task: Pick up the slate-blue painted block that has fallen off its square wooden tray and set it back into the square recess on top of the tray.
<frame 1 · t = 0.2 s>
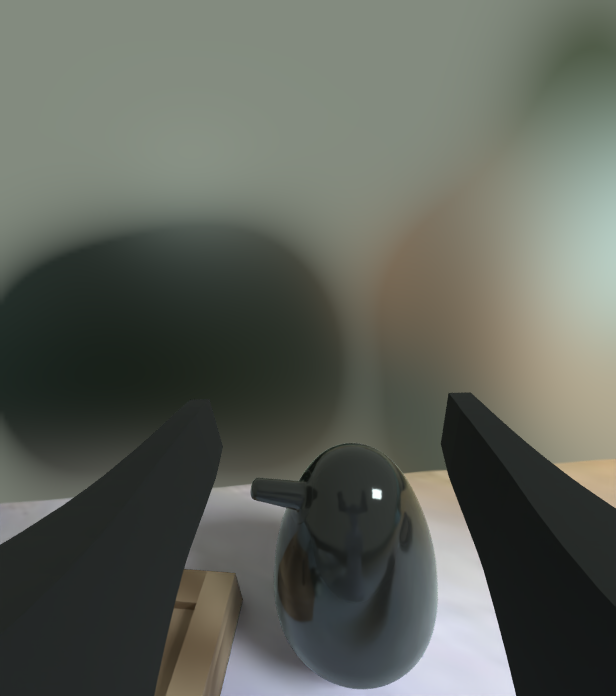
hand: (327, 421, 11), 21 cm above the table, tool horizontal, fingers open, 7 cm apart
square wooden tray: (145, 680, 23), on the table
dark grey egg shape: (351, 615, 25), on the table
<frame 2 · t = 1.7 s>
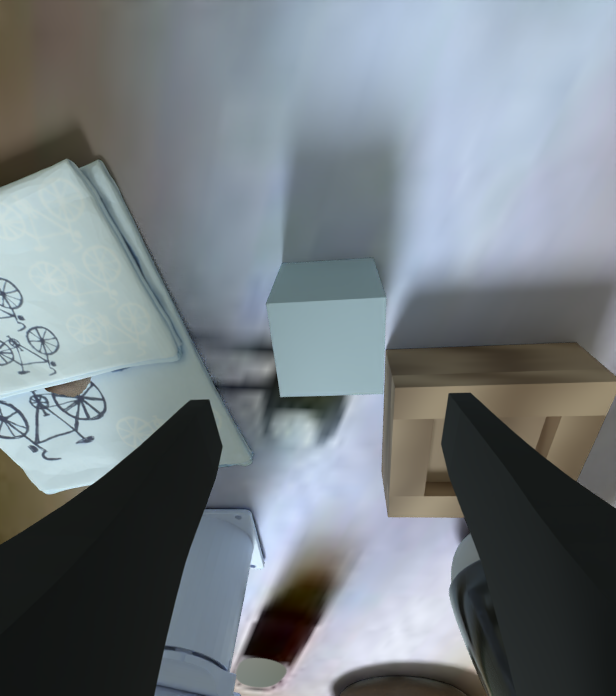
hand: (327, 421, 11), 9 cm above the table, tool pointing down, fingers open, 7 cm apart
blue block: (329, 302, 19), on the table
paper napkin stack: (69, 368, 23), on the table
square wooden tray: (465, 415, 22), on the table
dark grey egg shape: (501, 536, 28), on the table
plant saucer: (403, 694, 48), on the table
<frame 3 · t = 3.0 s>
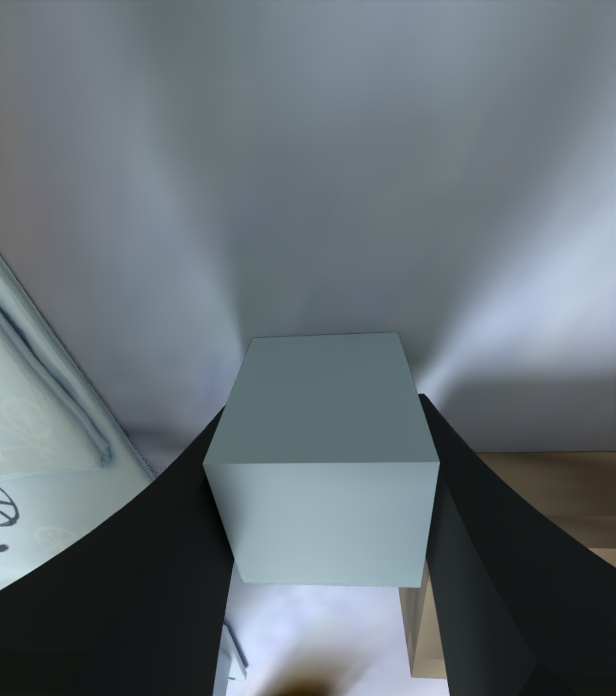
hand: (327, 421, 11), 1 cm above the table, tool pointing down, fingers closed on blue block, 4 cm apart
blue block: (327, 392, 12), on the table, touching gripper
square wooden tray: (521, 533, 15), on the table
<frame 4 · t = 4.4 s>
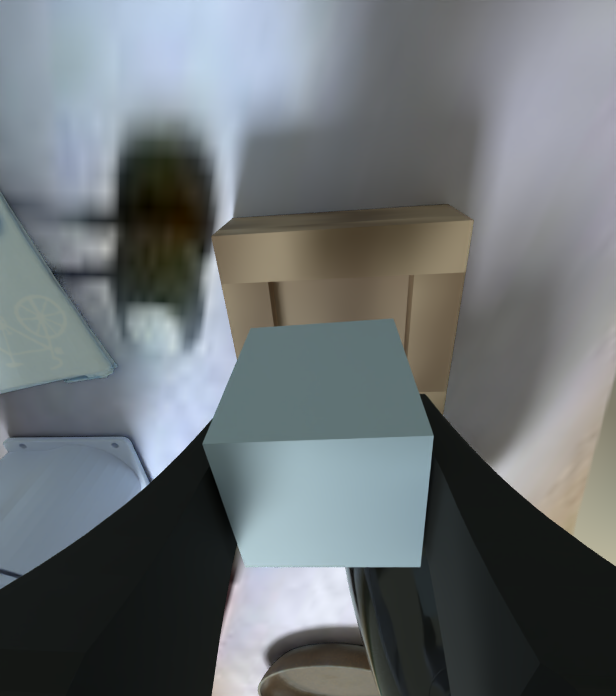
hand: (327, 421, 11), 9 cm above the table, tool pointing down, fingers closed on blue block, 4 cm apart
blue block: (326, 381, 12), point 8 cm above the table, touching gripper
square wooden tray: (340, 309, 19), on the table
dark grey egg shape: (410, 470, 26), on the table
plant saucer: (342, 666, 45), on the table
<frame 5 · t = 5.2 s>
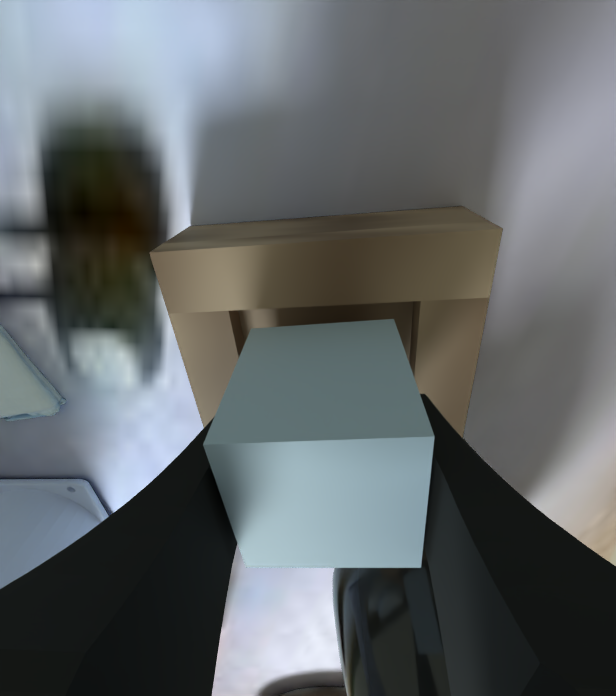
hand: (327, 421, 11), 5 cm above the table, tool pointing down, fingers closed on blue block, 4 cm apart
blue block: (326, 381, 12), point 4 cm above the table, touching gripper
square wooden tray: (328, 335, 16), on the table
dark grey egg shape: (414, 514, 22), on the table
when the fingers open (5 cm above the table, at t = 5.7 s): blue block stays where it is, resting on square wooden tray.
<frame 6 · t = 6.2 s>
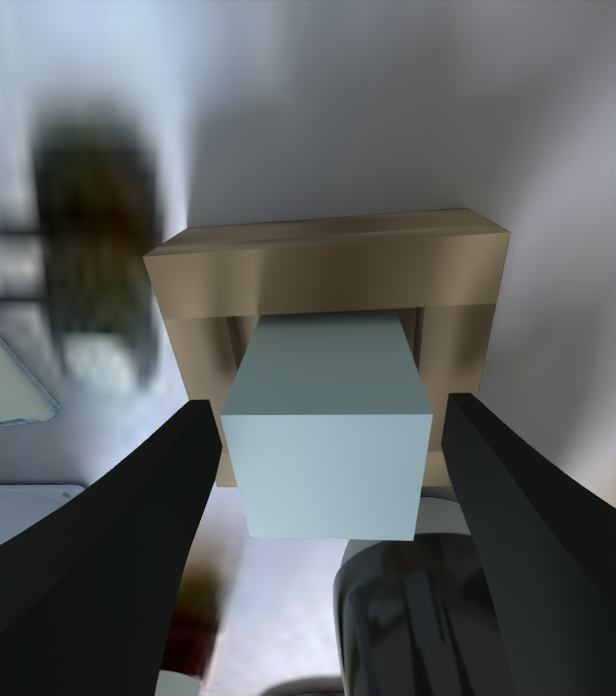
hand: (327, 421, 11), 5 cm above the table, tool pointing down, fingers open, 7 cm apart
blue block: (329, 368, 13), point 2 cm above the table, touching square wooden tray
square wooden tray: (328, 340, 15), on the table
dark grey egg shape: (416, 521, 22), on the table
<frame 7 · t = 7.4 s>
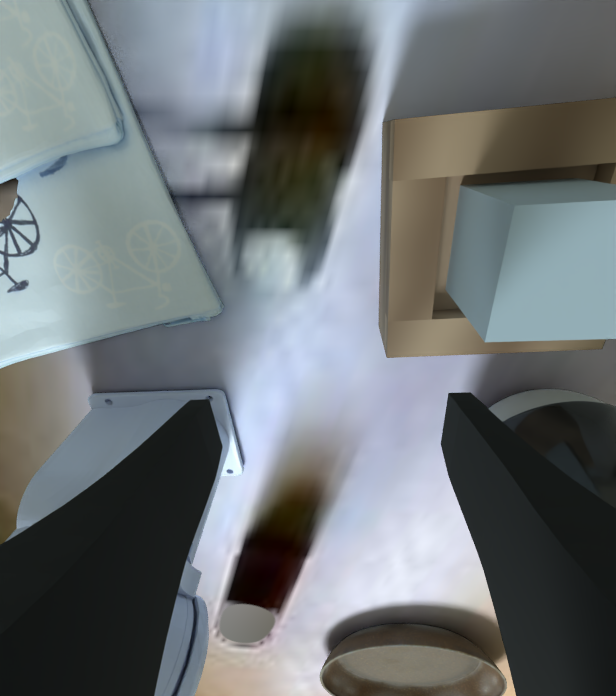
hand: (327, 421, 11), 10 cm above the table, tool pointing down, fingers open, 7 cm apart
blue block: (505, 238, 15), point 2 cm above the table, touching square wooden tray
square wooden tray: (482, 231, 18), on the table
dark grey egg shape: (521, 422, 24), on the table
plant saucer: (404, 650, 44), on the table
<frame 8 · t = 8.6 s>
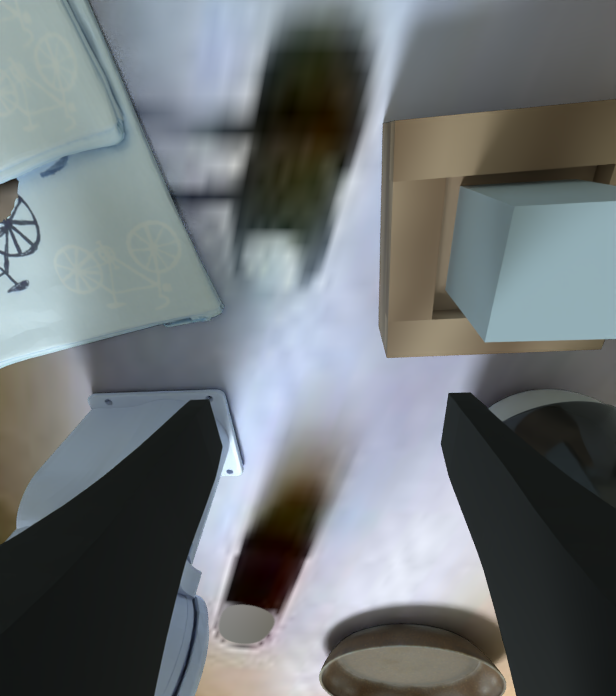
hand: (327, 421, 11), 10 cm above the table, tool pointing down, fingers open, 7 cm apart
blue block: (505, 239, 15), point 2 cm above the table, touching square wooden tray
square wooden tray: (481, 231, 18), on the table
dark grey egg shape: (520, 422, 24), on the table
plant saucer: (404, 650, 44), on the table
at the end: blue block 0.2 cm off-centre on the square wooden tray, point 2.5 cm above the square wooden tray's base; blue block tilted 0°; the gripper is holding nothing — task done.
